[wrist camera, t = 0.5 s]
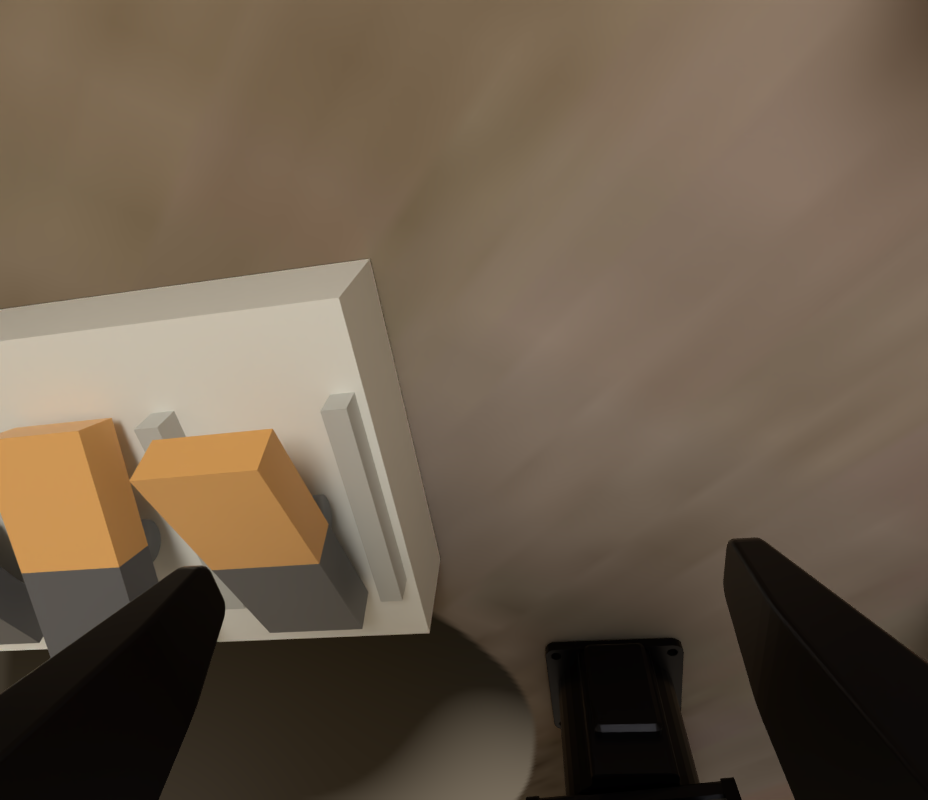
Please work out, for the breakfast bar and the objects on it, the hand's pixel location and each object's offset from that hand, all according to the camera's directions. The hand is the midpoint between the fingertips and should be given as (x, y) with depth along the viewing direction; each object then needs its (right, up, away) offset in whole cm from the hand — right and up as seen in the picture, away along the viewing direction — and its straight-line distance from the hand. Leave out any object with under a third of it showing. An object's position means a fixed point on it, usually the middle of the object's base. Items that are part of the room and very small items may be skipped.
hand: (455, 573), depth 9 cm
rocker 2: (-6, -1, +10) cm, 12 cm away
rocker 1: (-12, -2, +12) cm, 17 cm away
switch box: (-12, 0, +15) cm, 20 cm away
